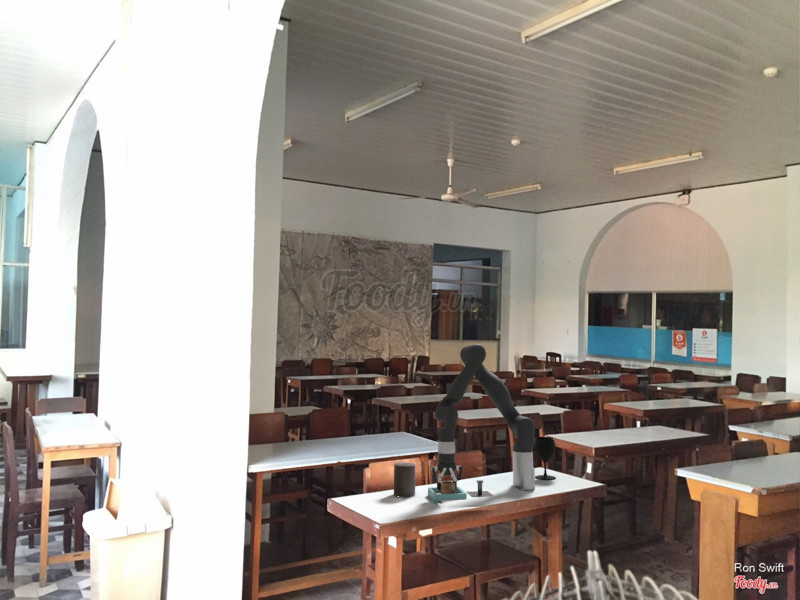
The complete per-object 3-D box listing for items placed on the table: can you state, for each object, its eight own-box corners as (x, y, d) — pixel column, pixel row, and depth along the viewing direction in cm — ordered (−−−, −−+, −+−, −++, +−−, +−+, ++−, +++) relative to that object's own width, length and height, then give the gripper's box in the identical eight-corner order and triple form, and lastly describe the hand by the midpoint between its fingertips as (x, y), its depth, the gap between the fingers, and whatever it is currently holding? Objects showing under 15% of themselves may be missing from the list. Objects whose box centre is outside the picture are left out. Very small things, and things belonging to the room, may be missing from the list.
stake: (487, 494, 287) (487, 477, 287) (494, 499, 277) (494, 482, 277) (466, 495, 285) (465, 478, 285) (472, 500, 275) (472, 483, 276)
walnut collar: (451, 491, 282) (451, 480, 282) (455, 494, 276) (455, 483, 276) (438, 491, 281) (438, 481, 281) (441, 494, 275) (441, 484, 276)
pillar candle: (395, 498, 280) (396, 463, 281) (391, 492, 289) (392, 459, 290) (417, 497, 282) (417, 462, 283) (412, 492, 291) (413, 458, 292)
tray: (458, 494, 286) (458, 486, 287) (466, 502, 273) (466, 493, 273) (427, 495, 284) (427, 487, 284) (434, 503, 270) (434, 495, 271)
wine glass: (560, 478, 319) (559, 438, 321) (544, 481, 314) (544, 440, 316) (545, 475, 328) (545, 435, 330) (530, 477, 323) (530, 437, 324)
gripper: (460, 449, 285) (460, 487, 284) (428, 450, 282) (428, 489, 281) (464, 452, 277) (464, 491, 276) (432, 453, 275) (432, 493, 274)
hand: (446, 490), depth 279 cm, fingers closed on walnut collar, 6 cm apart
